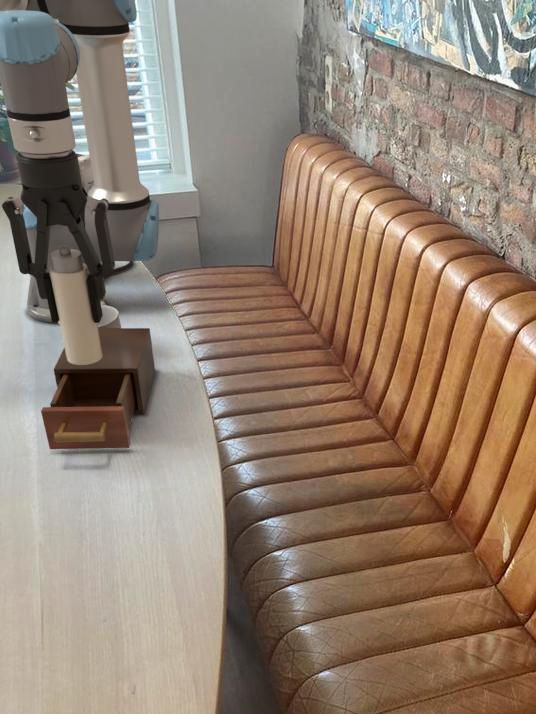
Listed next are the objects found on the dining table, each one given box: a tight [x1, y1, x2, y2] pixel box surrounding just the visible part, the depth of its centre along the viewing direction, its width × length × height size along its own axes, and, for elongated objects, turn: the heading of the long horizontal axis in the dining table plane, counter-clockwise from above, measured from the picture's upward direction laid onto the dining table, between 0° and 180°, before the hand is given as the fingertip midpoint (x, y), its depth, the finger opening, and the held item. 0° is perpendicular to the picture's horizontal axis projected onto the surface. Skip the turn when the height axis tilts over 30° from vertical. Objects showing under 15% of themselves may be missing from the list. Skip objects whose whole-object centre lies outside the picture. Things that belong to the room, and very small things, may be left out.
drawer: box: [40, 373, 137, 450], centre depth 121 cm, size 19×12×7 cm, turn 5°
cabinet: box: [53, 327, 156, 416], centre depth 133 cm, size 16×13×9 cm
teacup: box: [57, 301, 122, 328], centre depth 145 cm, size 14×11×8 cm
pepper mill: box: [49, 245, 103, 365], centre depth 112 cm, size 5×5×17 cm
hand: (77, 318), depth 113 cm, fingers closed on pepper mill, 5 cm apart
